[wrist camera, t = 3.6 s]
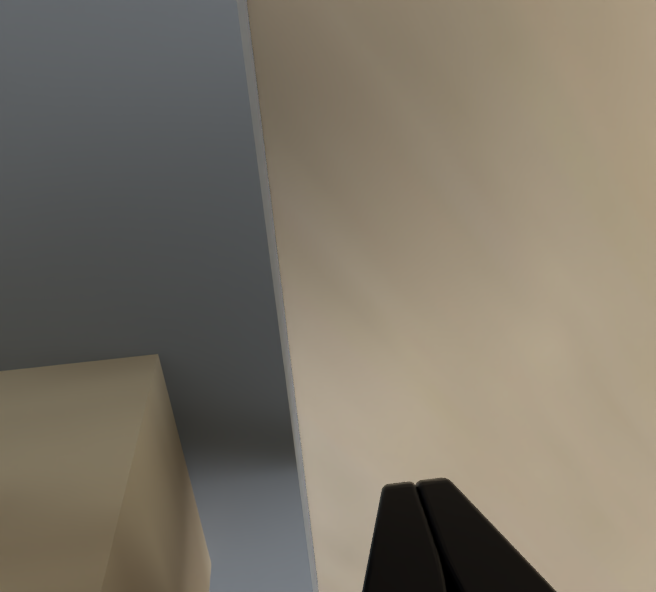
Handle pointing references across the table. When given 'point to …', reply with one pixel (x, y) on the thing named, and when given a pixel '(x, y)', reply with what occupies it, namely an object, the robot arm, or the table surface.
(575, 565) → the table surface
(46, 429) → the birch block
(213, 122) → the grey piece
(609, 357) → the table surface
